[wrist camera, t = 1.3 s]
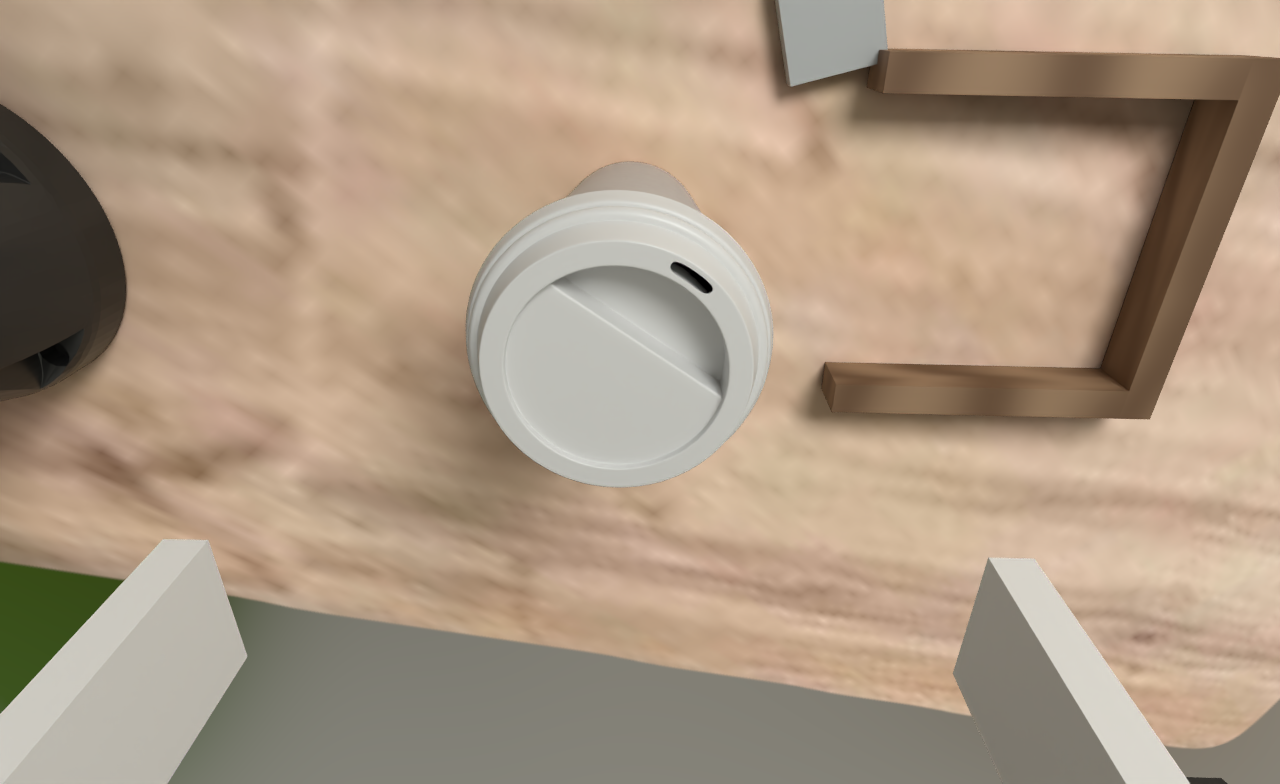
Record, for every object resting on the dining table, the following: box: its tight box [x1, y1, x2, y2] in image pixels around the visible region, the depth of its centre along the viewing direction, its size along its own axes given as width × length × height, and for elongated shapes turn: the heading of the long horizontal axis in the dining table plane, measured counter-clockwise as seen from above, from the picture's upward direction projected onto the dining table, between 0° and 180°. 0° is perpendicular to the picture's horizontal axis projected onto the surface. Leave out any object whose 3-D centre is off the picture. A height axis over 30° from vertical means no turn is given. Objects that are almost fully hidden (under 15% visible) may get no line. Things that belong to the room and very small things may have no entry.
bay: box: [821, 49, 1280, 419], centre depth 33 cm, size 16×16×2 cm
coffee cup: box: [466, 162, 773, 487], centre depth 27 cm, size 10×10×15 cm
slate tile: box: [775, 0, 888, 86], centre depth 29 cm, size 4×4×1 cm
